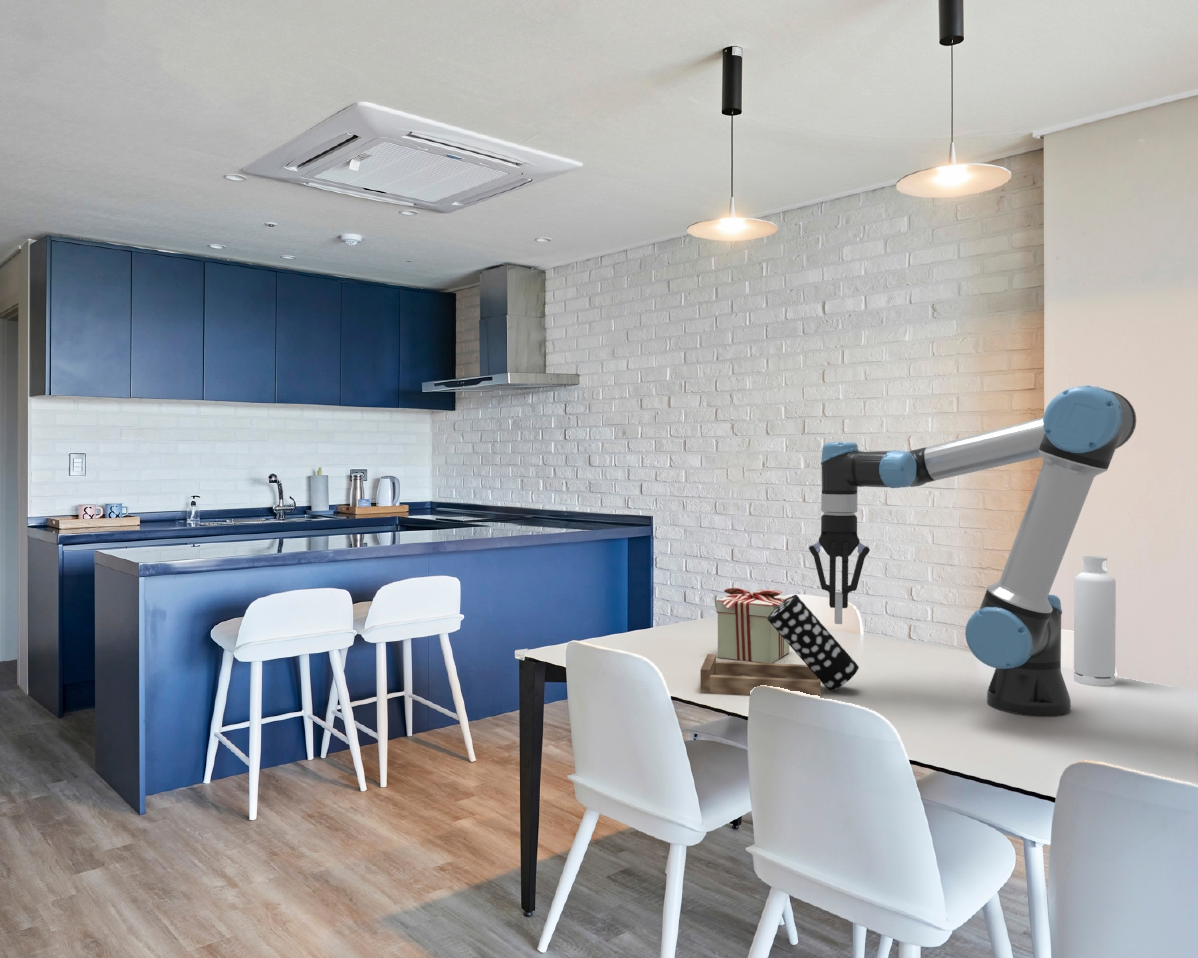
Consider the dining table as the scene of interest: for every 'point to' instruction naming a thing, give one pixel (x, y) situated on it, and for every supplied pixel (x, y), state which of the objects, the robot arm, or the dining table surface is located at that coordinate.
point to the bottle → (1094, 624)
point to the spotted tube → (813, 643)
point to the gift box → (749, 626)
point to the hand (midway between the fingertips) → (838, 622)
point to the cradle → (755, 677)
